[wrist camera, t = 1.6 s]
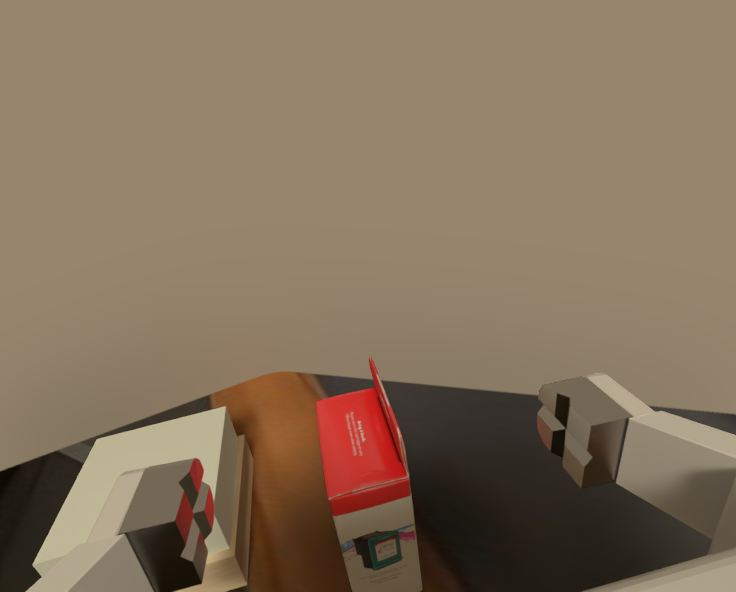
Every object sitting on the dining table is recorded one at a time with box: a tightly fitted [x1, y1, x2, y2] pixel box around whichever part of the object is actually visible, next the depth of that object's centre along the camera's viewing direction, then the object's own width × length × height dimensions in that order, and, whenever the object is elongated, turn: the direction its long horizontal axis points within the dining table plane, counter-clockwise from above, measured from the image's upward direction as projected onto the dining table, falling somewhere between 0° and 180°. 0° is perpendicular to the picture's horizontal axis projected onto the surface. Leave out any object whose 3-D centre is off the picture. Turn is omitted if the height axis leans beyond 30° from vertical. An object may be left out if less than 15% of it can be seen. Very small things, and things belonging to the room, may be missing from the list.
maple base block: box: [174, 434, 254, 592], centre depth 33 cm, size 12×12×4 cm
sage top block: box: [33, 406, 238, 577], centre depth 32 cm, size 11×11×4 cm
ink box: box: [316, 357, 422, 592], centre depth 28 cm, size 8×5×15 cm, turn 12°
